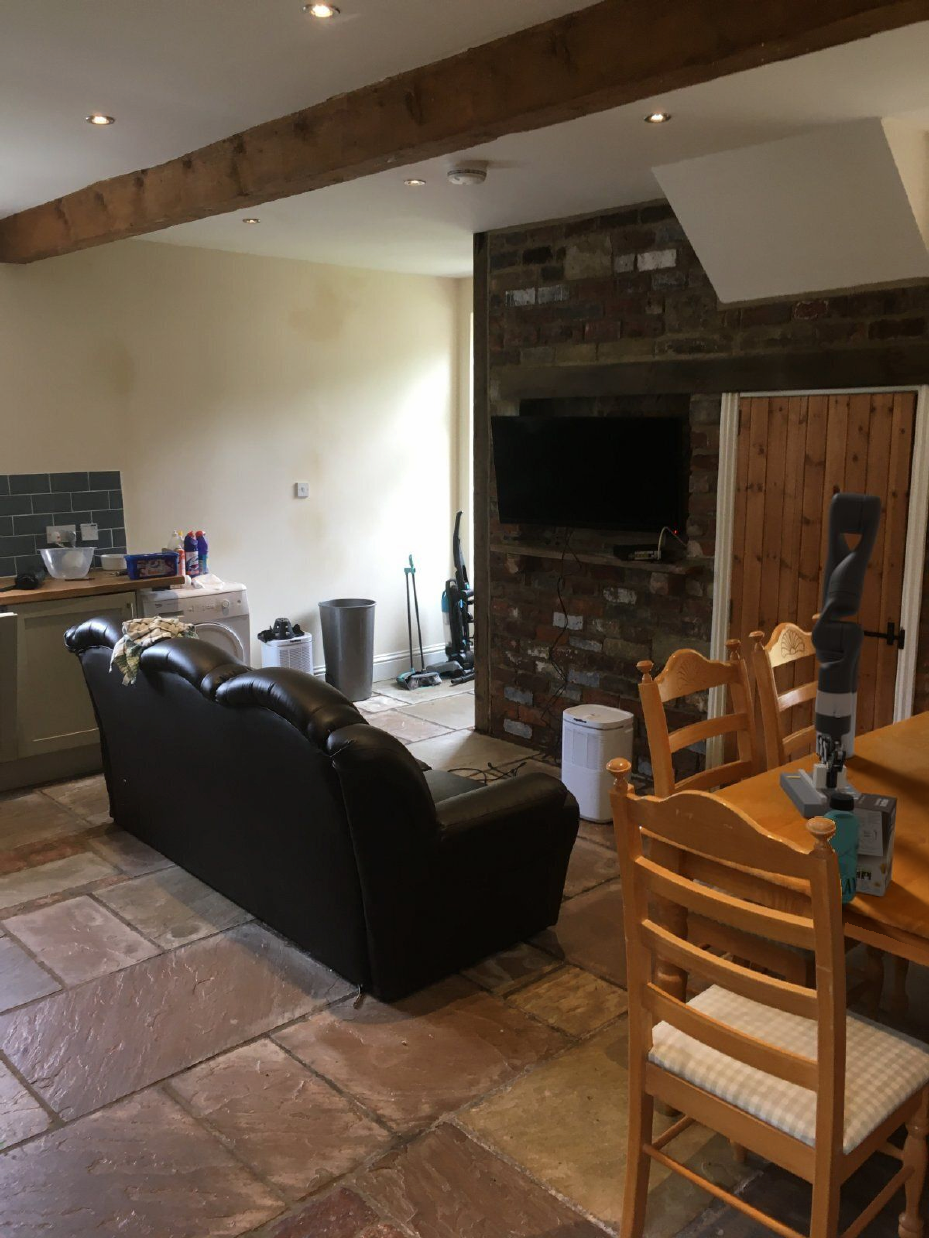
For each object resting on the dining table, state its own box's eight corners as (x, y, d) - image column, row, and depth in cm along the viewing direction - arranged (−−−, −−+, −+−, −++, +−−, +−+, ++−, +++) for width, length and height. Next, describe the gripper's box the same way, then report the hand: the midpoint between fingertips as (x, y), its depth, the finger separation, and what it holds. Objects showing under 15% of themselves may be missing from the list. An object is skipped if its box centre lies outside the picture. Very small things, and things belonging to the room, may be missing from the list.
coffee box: (884, 898, 178) (890, 812, 176) (846, 890, 182) (851, 806, 179) (892, 878, 186) (897, 796, 183) (855, 871, 189) (861, 791, 187)
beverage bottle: (820, 910, 174) (826, 801, 170) (812, 893, 180) (818, 788, 177) (859, 912, 173) (866, 802, 169) (850, 895, 179) (857, 789, 176)
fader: (812, 791, 224) (813, 763, 223) (841, 791, 224) (842, 763, 222) (815, 795, 221) (817, 767, 220) (845, 796, 221) (846, 768, 220)
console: (779, 784, 238) (780, 767, 237) (839, 785, 237) (840, 768, 236) (803, 817, 217) (804, 798, 216) (869, 818, 216) (870, 799, 215)
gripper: (807, 702, 226) (803, 775, 229) (825, 718, 212) (820, 796, 215) (840, 702, 226) (836, 775, 229) (861, 718, 212) (856, 796, 215)
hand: (829, 785), depth 222 cm, fingers closed on fader, 2 cm apart
